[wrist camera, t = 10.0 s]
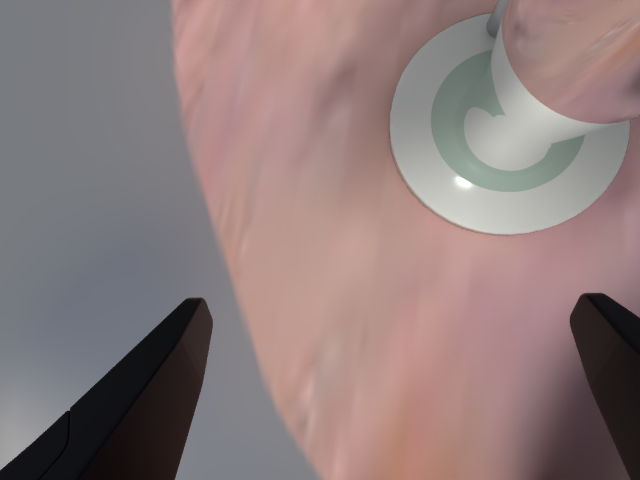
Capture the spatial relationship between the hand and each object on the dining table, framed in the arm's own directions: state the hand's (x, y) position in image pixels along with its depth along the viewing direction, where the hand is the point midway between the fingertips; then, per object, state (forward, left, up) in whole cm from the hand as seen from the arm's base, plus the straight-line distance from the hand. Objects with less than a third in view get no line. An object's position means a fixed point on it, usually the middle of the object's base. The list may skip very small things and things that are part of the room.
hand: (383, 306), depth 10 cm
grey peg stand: (+10, -8, -14) cm, 18 cm away
